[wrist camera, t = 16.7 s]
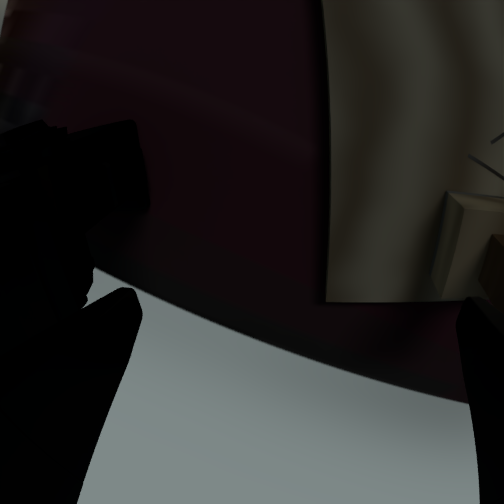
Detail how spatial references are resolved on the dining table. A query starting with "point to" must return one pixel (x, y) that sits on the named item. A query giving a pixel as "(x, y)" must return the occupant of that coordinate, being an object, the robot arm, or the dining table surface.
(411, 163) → the board
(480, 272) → the block
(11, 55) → the dining table surface
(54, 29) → the dining table surface
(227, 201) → the dining table surface
